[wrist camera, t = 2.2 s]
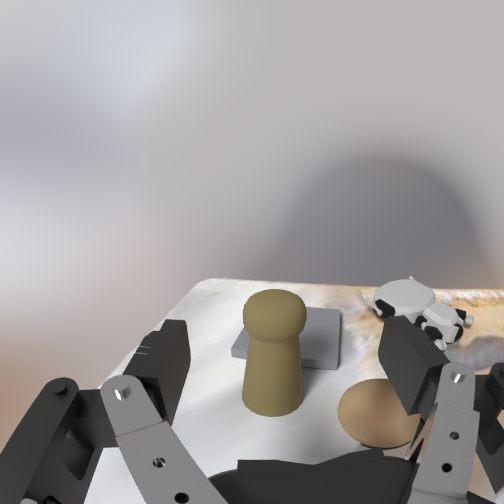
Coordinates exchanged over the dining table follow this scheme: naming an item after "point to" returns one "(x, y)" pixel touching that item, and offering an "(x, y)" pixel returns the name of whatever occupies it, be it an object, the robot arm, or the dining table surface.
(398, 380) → the robot arm
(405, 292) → the robot toy
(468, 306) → the dining table surface
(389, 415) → the cork coaster
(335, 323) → the slate tile
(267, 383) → the pepper shaker
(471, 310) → the dining table surface
